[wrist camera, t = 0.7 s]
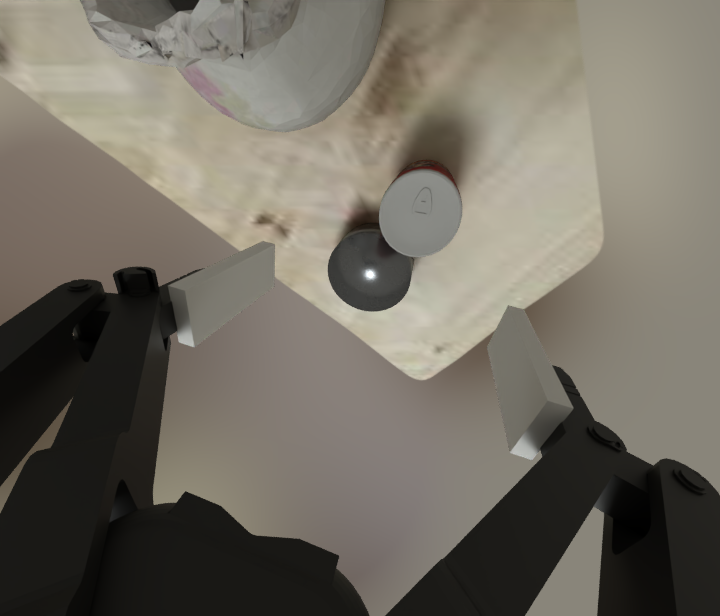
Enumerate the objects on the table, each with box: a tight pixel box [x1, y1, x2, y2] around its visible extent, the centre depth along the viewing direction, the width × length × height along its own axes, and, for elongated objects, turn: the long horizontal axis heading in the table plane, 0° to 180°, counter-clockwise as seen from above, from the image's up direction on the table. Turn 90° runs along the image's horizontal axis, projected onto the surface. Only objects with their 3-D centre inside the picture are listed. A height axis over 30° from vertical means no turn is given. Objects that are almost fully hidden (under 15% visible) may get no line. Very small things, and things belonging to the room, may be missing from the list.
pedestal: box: [328, 223, 413, 311], centre depth 39 cm, size 11×11×5 cm
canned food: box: [379, 160, 462, 257], centre depth 31 cm, size 8×8×11 cm
